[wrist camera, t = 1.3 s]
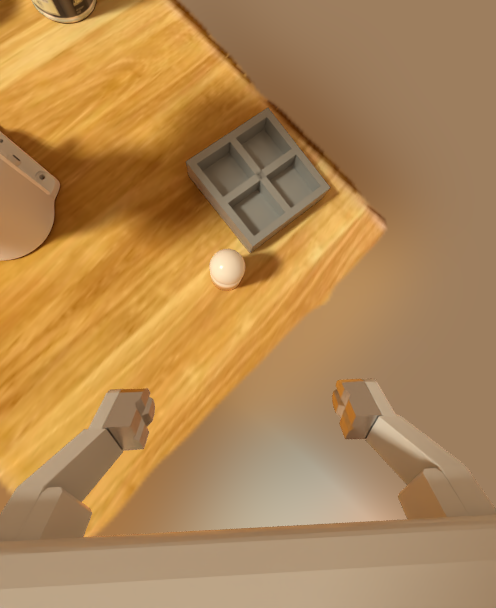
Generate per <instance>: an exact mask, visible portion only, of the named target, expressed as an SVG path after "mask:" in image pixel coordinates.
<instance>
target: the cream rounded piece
mask: <svg viewBox="0 0 496 608" xmlns="http://www.w3.org/2000/svg"><path fill="white" fill-rule="evenodd" d="M244 273H245V262H244V259H243V257H242V256H241V255H240V254H239V253H238V252H237V251H235V250H232V249H222V250H220V251H218V252H216V253H215V254H214V255H213V257H212V258H211V261H210V274H211V279H212V282H213V284H214V285H215V286H216V287H217V288H218V289H220V290H224V291H229V290H233V289H234V288H236V287H237V286H238V285H239V283H240V281H241V279H242V277H243V275H244Z"/></svg>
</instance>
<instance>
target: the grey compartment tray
mask: <svg viewBox="0 0 496 608" xmlns="http://www.w3.org/2000/svg"><path fill="white" fill-rule="evenodd" d="M186 165H187V170H188V176H189V177H190V178H191V180H192V181H193V182H194V183H195V185H196V186H197V187H198V188H199V190H200V191H201V192H202V193H203V195H204V196H205V197H206V199H207V200H208V201H209V202H210V204H211V205H212V206H213V207H214V209H215V210H216V211H217V212H218V214H219V215H220V216H221V218H222V219H223V220H224V221H225V223H226V224H227V225H228V226H229V228H230V229H231V230H232V231H233V233H234V234H235V235H236V236H237V238H238V239H239V240H240V242H241V243H242V244H243V245H244V247H245V248H246V249H247V250H248V252H249V253H251V252H253V251H254V250H255V249H256V248H258V247H259V246H260V245H262V244H263V243H264V242H266V241H267V240H268V239H270V238H271V237H272V236H274V235H275V234H276V233H277V232H279V231H280V230H281V229H283V228H284V227H285V226H287V225H288V224H289V223H291V222H292V221H293V220H295V219H296V218H297V217H299V216H300V215H301V214H302V213H304V212H305V211H306V210H308V209H309V208H310V207H312V206H313V205H314V204H316V203H317V202H318V201H320V200H321V199H322V198H323V197H324V195H325V194H326V193H327V191H328V190H329V189H330V186H329V185H328V184H327V183H326V181H325V180H324V179H323V177H322V176H321V175H320V174H319V172H318V171H317V170H316V168H315V167H314V166H313V165H312V163H311V162H310V161H309V159H308V158H307V157H306V156H305V154H304V153H303V152H302V150H301V149H300V148H299V147H298V145H297V144H296V143H295V141H294V140H293V139H292V138H291V136H290V135H289V134H288V132H287V131H286V130H285V129H284V127H283V126H282V125H281V124H280V122H279V121H278V120H277V118H276V117H275V116H274V115H273V113H272V112H271V111H270V109H269V108H266V109H265V110H263V111H262V112H260V113H259V114H257V115H256V116H254V117H253V118H251V119H250V120H248V121H247V122H245V123H244V124H242V125H241V126H239V127H238V128H236V129H235V130H233V131H232V132H230V133H229V134H227V135H226V136H224V137H222V138H221V139H219V140H218V141H216V142H215V143H213V144H212V145H210V146H209V147H207V148H206V149H204V150H203V151H201V152H200V153H198V154H197V155H195V156H194V157H192V158H191V159H189V160H188V161H186Z"/></svg>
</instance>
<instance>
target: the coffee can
mask: <svg viewBox="0 0 496 608" xmlns="http://www.w3.org/2000/svg"><path fill="white" fill-rule="evenodd" d="M32 2H33V4H34V6H35V7H36V9H37V10H38V11H39V12H40V13H41V14H43V15H44V16H45V17H47V18H49V19H51V20H53V21H56V22H61V23H74V22H78V21H81V20H83V19H85V18H86V17H88V16H89V15H90V14H91V12H92V11H93V9H94V7H95V4H96V0H32Z"/></svg>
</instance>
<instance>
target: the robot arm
mask: <svg viewBox="0 0 496 608" xmlns="http://www.w3.org/2000/svg"><path fill="white" fill-rule="evenodd" d="M44 177H45V179H43V178H44ZM42 179H43V180H42ZM59 188H60V183H59V181H58V180H57V179H56V178H55V177H54V176H53V175H52V174H50V173H49V172H48V171H47V170H46V169H44V168H43V167H42V166H41V165H40V164H39V163H37V162H36V161H35V160H34V159H33V158H32V157H30V156H29V155H28V154H27V153H26V152H24V151H23V150H22V149H21V148H20V147H19V146H17V145H16V144H15V143H14V142H13V141H11V140H10V139H9V138H8V137H7V136H6V135H4V134H3V133H2V132H1V131H0V260H11V259H15V258H19V257H22V256H24V255H26V254H28V253H30V252H32V251H33V250H35V249H36V248H37V247H39V246H40V245H41V244H42V243H43V242H44V240H45V239H46V238H47V236H48V234H49V233H50V231H51V228H52V225H53V222H54V201H55V198H56V196H57V194H58V191H59ZM336 387H337V389H336V390H335V391H334V392H333V395H332V402H333V407H334V410H335V413H336V414H337V415H338V416H339V417H340V418H341V420H340V423H339V424H340V427H341V429H342V432H343V435H344V438H345V439H366V441H367V443H368V444H369V445H370V446H371V447H372V448H373V449H374V450H375V451H376V452H377V453H378V454H379V455H380V456H381V457H382V459H383V460H384V461H385V462H386V463H387V464H388V465H389V466H390V467H391V468H392V469H393V470H394V472H395V473H396V474H397V475H398V476H399V477H400V478H401V479H402V480H403V481H404V482H405V483H406V484H407V486H406V487H405V488H404V489H403V490H402V491H401V492H400V493H399V495H398V499H399V501H400V503H401V506H402V508H403V510H404V512H405V515H406V517H407V519H405V520H389V521H388V520H387V521H370V522H369V521H368V522H351V523H333V524H314V525H297V526H277V527H259V528H241V529H223V530H205V531H188V532H187V531H186V532H170V533H169V532H168V533H150V534H133V535H132V534H131V535H113V536H95V537H83V536H84V534H85V531H86V528H87V525H88V523H89V520H90V517H91V515H92V512H91V509H90V508H88V507H87V506H86V505H84V504H83V503H82V501H83V500H84V499H85V497H86V496H87V495H88V494H89V493H90V491H91V490H92V489H93V488H94V486H95V485H96V484H97V483H98V482H99V480H100V479H101V478H102V477H103V476H104V474H105V473H106V472H107V471H108V469H109V468H110V467H111V466H112V465H113V463H114V462H115V461H116V460H117V459H118V457H119V456H120V455H121V454H122V452H123V451H124V450H137V449H144V447H145V444H146V440H147V437H148V434H149V431H148V428H147V426H148V425H149V424H150V423H151V422H152V420H153V417H154V411H155V405H154V401H153V399H152V398H150V397H149V395H150V392H149V390H148V388H145V389H112V390H109V391H108V392H107V393H106V395H105V397H104V399H103V401H102V403H101V405H100V407H99V409H98V411H97V413H96V415H95V417H94V419H93V421H92V422H91V424H90V426H89V428H88V429H84V430H83V431H82V432H81V433H80V434H78V435H77V436H76V437H75V438H74V439H73V440H71V441H70V442H69V443H68V444H67V445H66V446H64V447H63V448H62V449H61V450H60V451H59V452H58V453H56V454H55V455H54V456H53V457H52V458H51V459H49V460H48V461H47V462H46V463H45V464H44V465H43V466H41V467H40V468H39V469H38V470H37V471H36V472H34V473H33V474H32V475H31V476H30V477H29V478H27V479H26V480H25V481H24V482H23V483H22V484H21V485H19V486H18V487H17V488H16V490H15V491H14V493H13V495H12V496H11V498H10V499H9V501H8V503H7V504H6V506H5V507H4V509H3V511H2V512H1V514H0V608H496V509H495V507H494V506H493V504H492V503H491V501H490V500H489V498H488V497H487V496H486V494H485V493H484V492H483V490H482V488H481V487H480V485H479V484H478V483H477V481H476V480H475V478H474V477H473V475H472V474H471V473H470V471H469V470H468V468H467V467H466V465H464V464H463V463H462V462H460V461H459V460H458V459H456V458H455V457H454V456H453V455H451V454H450V453H449V452H447V451H446V450H445V449H443V448H442V447H441V446H439V445H438V444H437V443H436V442H434V441H433V440H432V439H430V438H429V437H428V436H426V435H425V434H424V433H423V432H421V431H420V430H419V429H417V428H416V427H415V426H413V425H412V424H411V423H410V422H408V421H407V420H406V419H404V418H403V417H402V416H401V415H396V414H395V412H394V410H393V409H392V407H391V405H390V404H389V402H388V400H387V398H386V397H385V395H384V393H383V391H382V390H381V388H380V386H379V385H378V383H377V381H376V380H375V379H372V378H370V379H347V380H338V381H337V383H336Z"/></svg>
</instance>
